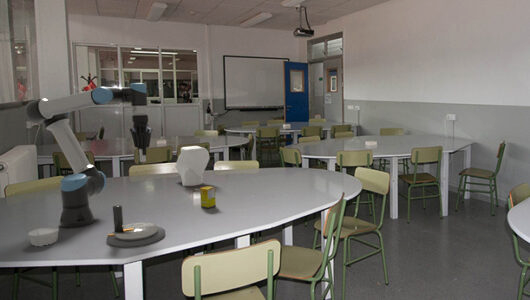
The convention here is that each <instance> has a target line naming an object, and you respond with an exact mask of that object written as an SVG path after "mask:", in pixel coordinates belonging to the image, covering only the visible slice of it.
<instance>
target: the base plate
mask: <svg viewBox="0 0 530 300" xmlns="http://www.w3.org/2000/svg"><path fill="white" fill-rule="evenodd" d="M165 236H166V230H165V229H164V228H162V227H160V226H158V233H157V234H156V235H155V236H153V237H150V238H147V239H144V240H138V241H120V240H117V239H115V237H114V231H113V232H111V233H107V238H106V242H107V244H108V245H110V246H112V247H115V248H124V249H125V248H137V247H143V246H144V247H145V246H148V245H151V244H155V243H157V242H159V241H160V240H162V239H164V238H165Z"/></svg>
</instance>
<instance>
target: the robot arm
mask: <svg viewBox="0 0 530 300" xmlns="http://www.w3.org/2000/svg"><path fill="white" fill-rule="evenodd" d="M147 94H148V92H147V86H146V83H144V82H132V83H130V84H129V87H114V86H113V87H112V86H111V87H110V86H98V87H95V89H90V90H86V91H81V92H77V93H73V94H69V95H64V96H60V97H55V98H51V99H47V98H41V99H34V100H31V101H29V102H28V103H27V104H26V105H25V108H24V115H25V117H26V118H27V120H29V121H30V122H31V123H34V124H43V126H44V127H45V129H46V130H47V131H50V132H51V133H52V136H54V138H55V140H56V143H57V144H58V145H59V146H58V147H60V149H61V151H62V153H63V154H64V156H65V158H66V160H67V162H68V164H69V165H70V166H69V167H71V169H72V171H73V174H68V175H66V176H64V177H63V178H61V180H60V192H61V194H60V195H61V204H62V210H61V216H60V219H59V226H60V227H61V226H62V228H65V227H69V228H68V229H71V228H73V229H74V228H81V227H85V226H88V225H91V224H92V223H94V222H95V215H94V213H93V212H92V209H91V207H90V200H89V199H90V197H93V196H95V195H98V194H100V193H102V192H103V191H104V190H105V188H106V187H107V184H108V182H107V177H106V174H104V173H103V171H99V170H98V169H97V167H96V166H95V165H93V164H91V163H90V161H89V159H88V158H87V157H88V156H87V155H86V153H85V152H84V150H83V148H82V146H81V145H80V142H79V141H78V139H77V137H76V135H75V134H74V132H73V130H72V129H71V126H70V125H69V122H70V118H69V116H70V112H75V111H79V110H83V109H88V108H92V107H97V106H101V105H106V104H127V103H128V104H130V105H131V114H132V116H131V119H132V123H133V126H132V127H131V128H130V129H129V132H130V133H131V137H132V142H133V145H134V148H137V150H138V155H139V162H140V163H143V162H144V163H145V162H147V157H146V156H147V149H148V148H150V145H151V144H150V143H151V137H152V132H153V128H151V127H150V126H149V124H148V122H149V115H148V113H149V110H148V95H147Z"/></svg>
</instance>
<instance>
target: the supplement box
mask: <svg viewBox="0 0 530 300" xmlns="http://www.w3.org/2000/svg"><path fill="white" fill-rule="evenodd" d="M199 189H200V190H199V193H200V208H203V209H207V210H208V209H211V208H215V207H216V205H217V204H216V187H214V186H209V185H206V186H203V187H200V188H199Z"/></svg>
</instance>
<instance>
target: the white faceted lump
mask: <svg viewBox="0 0 530 300" xmlns="http://www.w3.org/2000/svg"><path fill="white" fill-rule="evenodd" d="M210 159H211V158H210V154H209V151H208V149H207V148H205V147H201V146H199V145H190V146H183V147H181V148H180V154H179V155H178V158H177V160H176V162H175V166H174V167H175V169H176V171H177V173H178V174H179V175H180V177H181V179H180V180H181V183H182V186H183V187H190V186H199V185H202V183H203V176H204V174H205V169H206V167H207V166H208V163H209V161H210Z"/></svg>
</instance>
